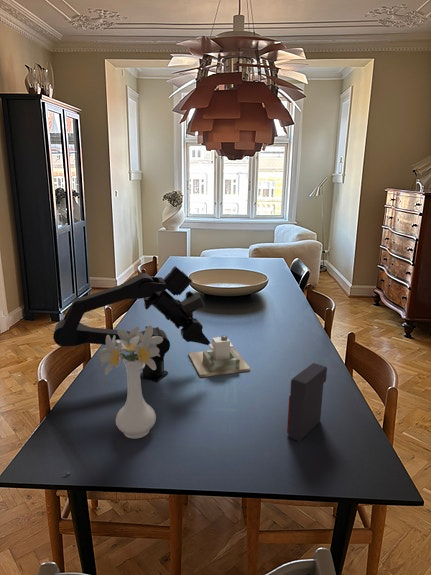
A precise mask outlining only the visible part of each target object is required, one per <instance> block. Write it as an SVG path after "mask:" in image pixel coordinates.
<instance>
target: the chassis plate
mask: <svg viewBox="0 0 431 575" xmlns="http://www.w3.org/2000/svg"><path fill="white" fill-rule="evenodd" d="M188 358H189V359H190V361H191V363H192V365H193V367H194V369H195V371H196V373H197V374H198V376H199V378H204V377H212V376H219V375H227V374H229V375H230V374H234V373H242V372H250V371H251V367H250V366H249V365H248V363H246V361H245V360H244V359H243V357H242V356H241V355H240V354H239V353H238V351H237V350H236V349H235V347H233V348H230V359H224V360H216V361H213V360H212V350H211V349H208V350H203V351H195V352H188Z"/></svg>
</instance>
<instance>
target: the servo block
mask: <svg viewBox="0 0 431 575" xmlns="http://www.w3.org/2000/svg"><path fill="white" fill-rule="evenodd" d="M208 347H209V348H210V350H212V360H213V361H216V360H224V359H230V348H234V345H233V343H232V342H231V341H230V339H229V338H228V335H221V336H218V337H212V343H210V344H209V345H208Z"/></svg>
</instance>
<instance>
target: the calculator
mask: <svg viewBox="0 0 431 575" xmlns="http://www.w3.org/2000/svg"><path fill="white" fill-rule="evenodd" d="M327 372H328V367H327V366H325V365H321V364H319V363H315V362H313V363H312V364H310V365H309V366H307V367H306V368H304V369H303V370H302V371H300V372H299V373H298V374H296V375H295V376H294V377H292V378H291V379H290V388H289V390H290V391H289V396H288V408H287V409H288V411H287V428H286V433H287V436H288V438H290V439H293V440H295V441H298V442H301V441H302V440H303V439H304V437H305V436H307V435H308V434H309V433H310V432H311V431H312V430H313V429H314V428H315V427H316V426H317V425H318V424H319V423H320V422H321V417H322V403H323V392H324V391H323V390H324V383H325V382H327Z"/></svg>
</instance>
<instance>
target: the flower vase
mask: <svg viewBox="0 0 431 575" xmlns="http://www.w3.org/2000/svg"><path fill="white" fill-rule="evenodd" d="M153 328H154V327H153V325H151V324H150V325H148V327H147V328H146V331H145V330H144V331H145V334H144V335H143V334H142V333H141V332H142V331H140V328H139V326H136V327H134V328H132V329H131V330H130V331H131V332H130V334H129V335H128V333H127V332H126V331H127V330H125V329H123V328H119V329H117V330H118V332H117V333H118V336H119V337H120V339H121V340H115V338H116V337H115V335H114V337H113V339H112V340H111V338H110V336H109V335H107V336H106V345H105V346H106V347H104V348H102V349H100V350H99V352H98V353H97V357H99V361H100V362H101V364H100V366H101V367H103V366H104V365H105V364H106V363H107V365H106V367H105V369H104V375H105V376H107V375H109V373H110V372H111V371H112V370H113V368H114V367H115V368H119V367H120V365H121V360H122V362H123V364H124V366H125V370H126V380H127V381H126V383H127V384H126V385H127V390H126V391H127V393H126V395H127V396H126V401H125V403H124V405H123V406H122V407H120V409H119V411H118V412H117V414H116V416H115V424H116V428H118V430H119V431H120V432H122V434H123V435H124V437H126V438H129V439H134V440H137V439H140V438H141V439H142V438H144V437H146V436H147V435H148V434H149V433H150V430H151V429H152V428H153V427H154V425H155V423H156V420H157V414H156V412H155V409H153V407H152V406H151V405H150V404H149V403H147V402H146V400H145V398H144V396H143V391H142V380H141V379H142V378H141V377H140V374H141V370H142V369H143V368H144V367H145V363H146V364H147V365H148V366H149V367H150V368H151V369H153V370H156V364H155V362H154V361H153V359H151V358H150V357H154V356H160V355H159V348H157V346H156V344H160V343H161V342H162V341H163V338H162V337H160V336H153V337H151V336H152V334H153ZM150 337H151V338H150ZM138 343H139V344H138ZM116 345H117V346H116ZM121 351H124V352H127V354H125V353H123V352H121Z"/></svg>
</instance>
